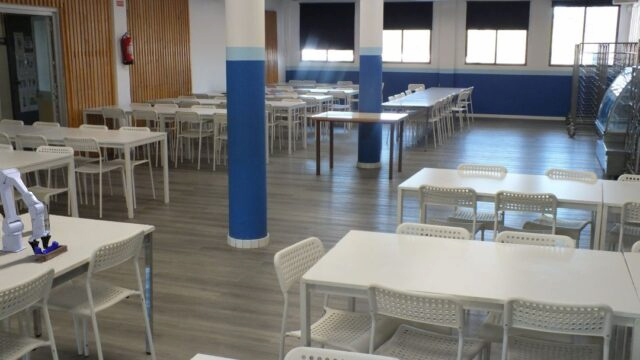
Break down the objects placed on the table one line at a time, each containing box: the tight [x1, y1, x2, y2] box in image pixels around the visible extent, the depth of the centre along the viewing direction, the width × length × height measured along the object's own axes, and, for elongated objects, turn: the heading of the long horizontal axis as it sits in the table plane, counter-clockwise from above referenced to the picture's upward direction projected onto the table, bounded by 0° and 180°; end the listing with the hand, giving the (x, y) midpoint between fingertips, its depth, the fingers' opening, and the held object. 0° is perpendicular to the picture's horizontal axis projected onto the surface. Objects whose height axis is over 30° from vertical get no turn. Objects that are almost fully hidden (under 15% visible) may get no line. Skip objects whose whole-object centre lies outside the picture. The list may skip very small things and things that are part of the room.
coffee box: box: [30, 202, 51, 232], centre depth 387 cm, size 9×6×16 cm
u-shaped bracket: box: [34, 244, 68, 262], centre depth 343 cm, size 6×18×3 cm, turn 166°
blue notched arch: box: [34, 240, 60, 259], centre depth 343 cm, size 12×4×6 cm, turn 150°
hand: (40, 251), depth 344 cm, fingers open, 7 cm apart
